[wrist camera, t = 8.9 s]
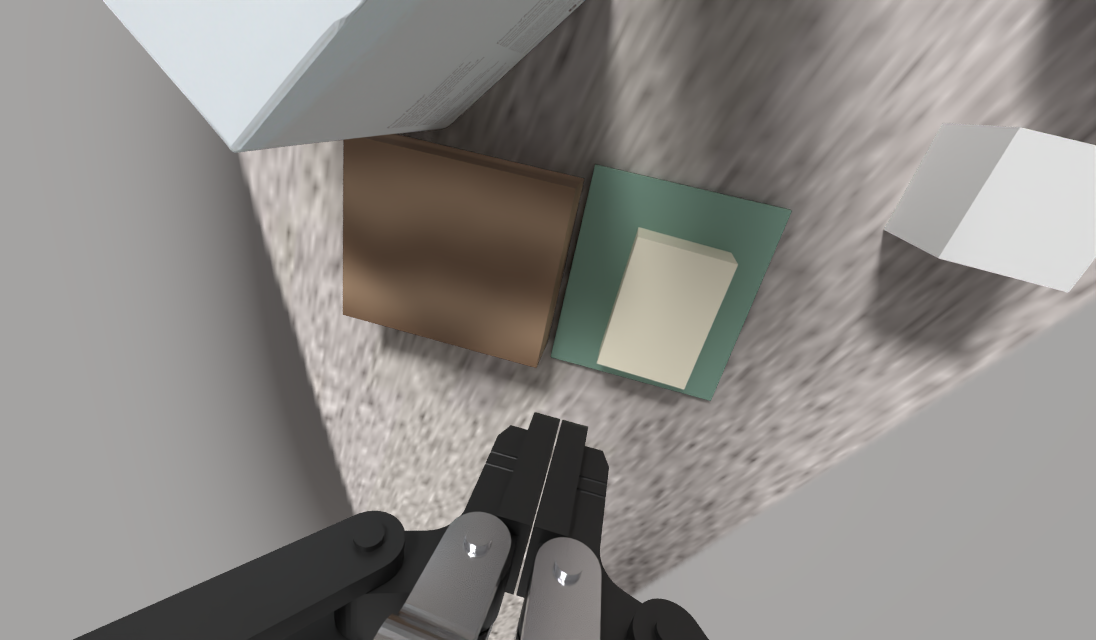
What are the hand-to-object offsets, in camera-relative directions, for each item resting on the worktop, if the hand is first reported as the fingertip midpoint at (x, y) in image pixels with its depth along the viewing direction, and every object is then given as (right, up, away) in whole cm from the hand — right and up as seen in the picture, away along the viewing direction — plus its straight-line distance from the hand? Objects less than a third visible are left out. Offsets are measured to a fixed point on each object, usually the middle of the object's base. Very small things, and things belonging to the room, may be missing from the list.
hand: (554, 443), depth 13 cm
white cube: (+23, +11, +14) cm, 29 cm away
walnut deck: (-6, +9, +20) cm, 23 cm away
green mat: (+7, +5, +19) cm, 21 cm away
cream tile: (+7, +4, +17) cm, 19 cm away
